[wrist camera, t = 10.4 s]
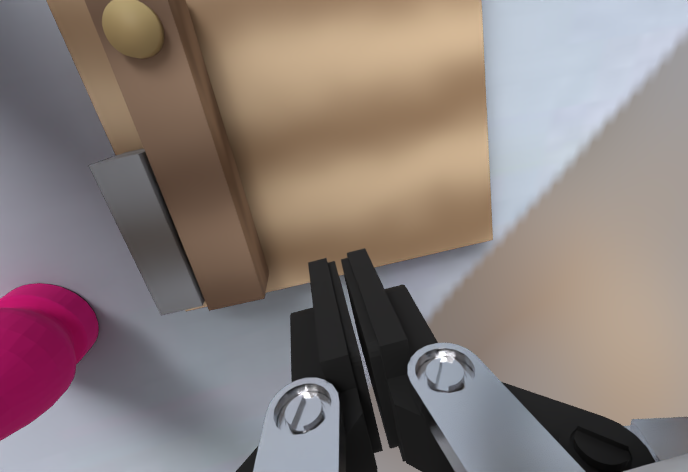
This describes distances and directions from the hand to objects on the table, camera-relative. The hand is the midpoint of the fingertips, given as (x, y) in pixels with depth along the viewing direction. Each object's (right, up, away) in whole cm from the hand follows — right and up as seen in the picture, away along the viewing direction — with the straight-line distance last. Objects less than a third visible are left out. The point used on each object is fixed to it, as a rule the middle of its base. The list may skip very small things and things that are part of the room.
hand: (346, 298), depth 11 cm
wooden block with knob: (-2, +9, +12) cm, 15 cm away
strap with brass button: (-7, +6, +9) cm, 13 cm away
